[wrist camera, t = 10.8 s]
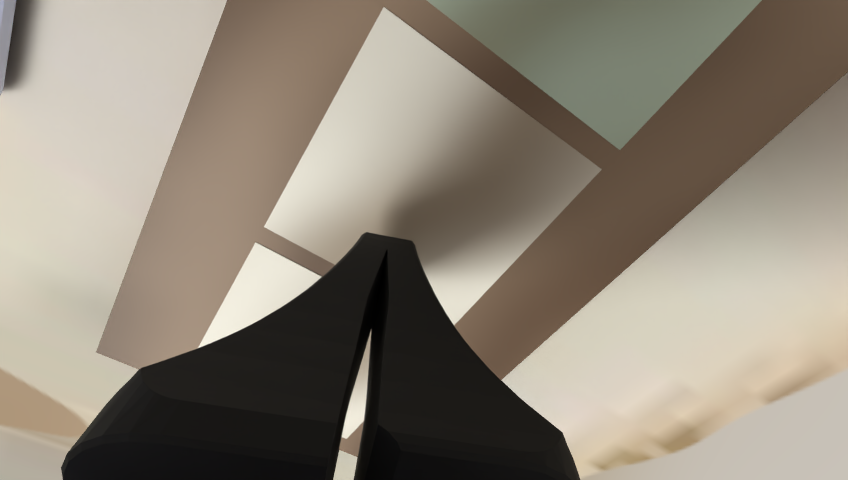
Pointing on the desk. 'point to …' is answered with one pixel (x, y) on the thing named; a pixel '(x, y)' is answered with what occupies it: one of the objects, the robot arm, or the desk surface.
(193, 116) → the game board
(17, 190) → the desk surface
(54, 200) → the desk surface
